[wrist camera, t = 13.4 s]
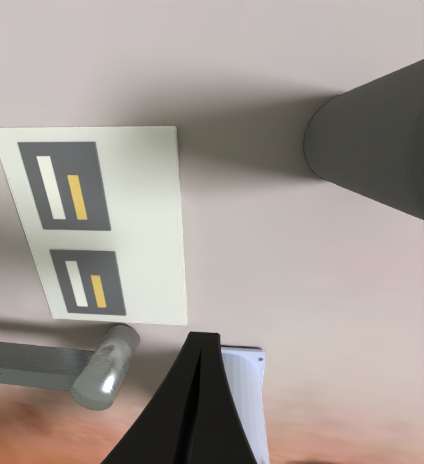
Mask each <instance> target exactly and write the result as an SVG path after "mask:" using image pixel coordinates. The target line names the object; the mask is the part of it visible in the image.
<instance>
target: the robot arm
mask: <svg viewBox="0 0 424 464" xmlns="http://www.w3.org/2000/svg"><path fill="white" fill-rule="evenodd" d="M265 356H266V355H265V351H264V350H262V349H247V348H230V347H221V345H220V335H219V334H218V333H207V332H190V333H189V334H188V336H187V339H186V341H185V343H184V345H183V347H182V349H181V351H180V353H179V355H178V357H177V359H176V360H175V362H174V364H173V366H172V367H171V369H170V371H169V372H168V374H167V376H166V377H165V379H164V381H163V382H162V384H161V385H160V387H159V388H158V390H157V391H156V393H155V394H154V396H153V398H152V399H151V400H150V402H149V403H148V405H147V406H146V408H145V409H144V410H143V412H142V413H141V414H140V416H139V417H138V418H137V420H136V421H135V422H134V424H133V425H132V426H131V428H130V429H129V430H128V431H127V433H126V434H125V435H124V436H123V438H122V439H121V440H120V441H119V443H118V444H117V445H116V446H115V447H114V449H113V450H112V451H111V452H110V453H109V455H108V456H107V457H106V458H105V459H104V460H103V461H102V462H101V464H270V461H269V453H268V445H267V437H266V428H265V420H264V412H263V404H262V395H261V393H262V383H263V374H264V365H265ZM260 357H261V358H260Z"/></svg>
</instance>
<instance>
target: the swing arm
mask: <svg viewBox="0 0 424 464" xmlns="http://www.w3.org/2000/svg"><path fill="white" fill-rule="evenodd" d="M139 343H140V338H139V335H138V334H137V332H136V331H135V330H133V329H132V328H130V327H128V326H124V325H115V326H113V327H111V328H110V329H109V330H108V331H107V333H106V334H105V336H104V338H103V339H102V341H101V342H100V344H99V345H98V347H97V348H96V350H95V351H85V350H76V349H66V348H56V347H46V346H36V345H27V344H17V343H7V342H0V383H2V384H11V385H20V386H29V387H38V388H47V389H56V390H65V391H70V392H71V396H72V398H73V399H74V400H75V401H76V402H77V403H78V404H80V405H81V406H83V407H85V408H88V409H91V410H105V409H107V408H109V407H110V406H111V405H112V404H113V401H114V399H115V397H116V395H117V393H118V390H119V388H120V386H121V384H122V381H123V379H124V377H125V375H126V373H127V370H128V368H129V366H130V364H131V361H132V359H133V357H134V355H135V353H136V350H137V348H138V346H139Z"/></svg>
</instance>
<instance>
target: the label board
mask: <svg viewBox="0 0 424 464" xmlns="http://www.w3.org/2000/svg"><path fill="white" fill-rule="evenodd" d="M0 159H1V162H2V165H3V168H4V171H5V174H6V177H7V180H8V183H9V186H10V189H11V192H12V195H13V198H14V201H15V204H16V207H17V210H18V213H19V217H20V220H21V223H22V226H23V229H24V232H25V235H26V238H27V241H28V244H29V247H30V250H31V253H32V256H33V259H34V262H35V265H36V268H37V271H38V274H39V277H40V280H41V283H42V286H43V289H44V292H45V295H46V298H47V301H48V304H49V307H50V310H51V313H52V316H53V318H55V319H74V320H93V321H112V322H131V323H150V324H170V325H187V322H188V317H187V299H186V282H185V264H184V247H183V229H182V212H181V194H180V177H179V159H178V141H177V126H119V127H32V128H0Z"/></svg>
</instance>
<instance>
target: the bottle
mask: <svg viewBox="0 0 424 464" xmlns="http://www.w3.org/2000/svg"><path fill="white" fill-rule="evenodd" d="M303 149H304V155H305V159H306V161H307V163H308V166H309V167H310V168H311V170H312V171H313V172H314V173H315V174H317V175H318V176H319V177H321V178H323V179H325V180H327V181H329V182H332V183H334V184H336V185H339V186H341V187H343V188H346V189H348V190H351V191H353V192H356V193H358V194H361V195H363V196H365V197H368V198H370V199H373V200H375V201H378V202H380V203H383V204H385V205H388V206H390V207H392V208H395V209H397V210H400V211H402V212H405V213H407V214H410V215H412V216H415V217H417V218H420V219H423V220H424V59H423V60H421V61H419V62H416V63H414V64H411V65H409V66H407V67H404V68H402V69H400V70H397V71H395V72H392V73H390V74H388V75H385V76H383V77H381V78H378V79H376V80H374V81H371V82H369V83H367V84H364V85H362V86H360V87H357V88H355V89H353V90H350V91H348V92H346V93H344V94H342V95H339V96H337V97H335V98H334V99H332V100H330V101H329V102H327V103H326V104H325V105H324V106H322V107H321V108H320V109H319V110H318V111H317V113H316V114H315V115H314V116H313V118H312V119H311V121H310V123H309V125H308V127H307V130H306V133H305V136H304V144H303Z"/></svg>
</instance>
